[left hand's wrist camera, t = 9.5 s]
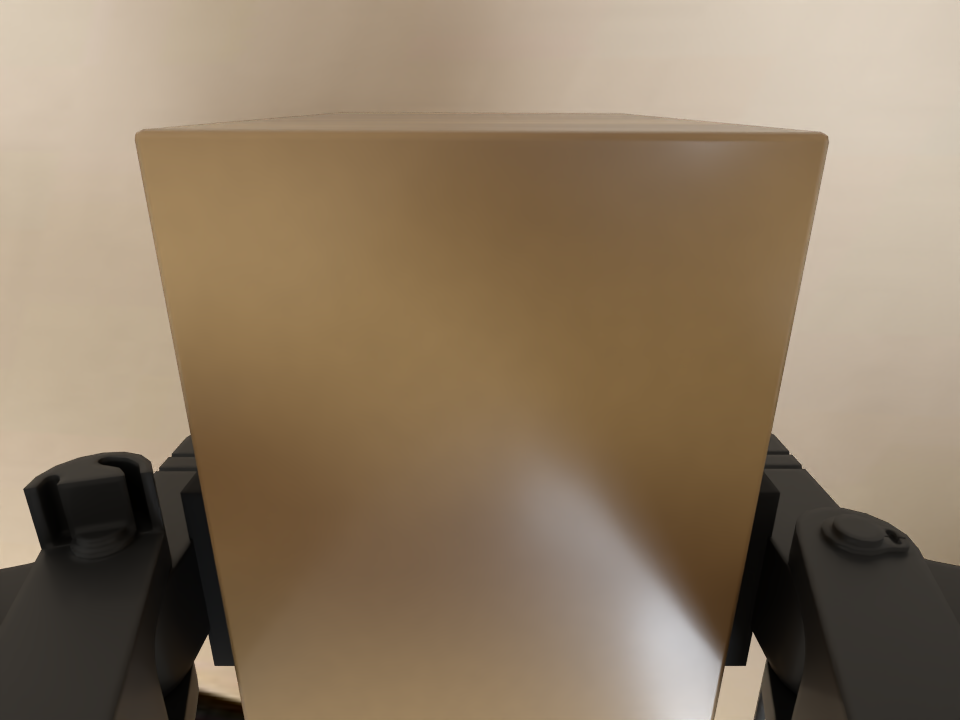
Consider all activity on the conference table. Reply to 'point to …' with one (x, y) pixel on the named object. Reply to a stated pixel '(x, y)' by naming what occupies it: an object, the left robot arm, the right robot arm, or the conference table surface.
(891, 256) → the conference table surface
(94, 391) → the conference table surface
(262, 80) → the conference table surface
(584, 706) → the post
